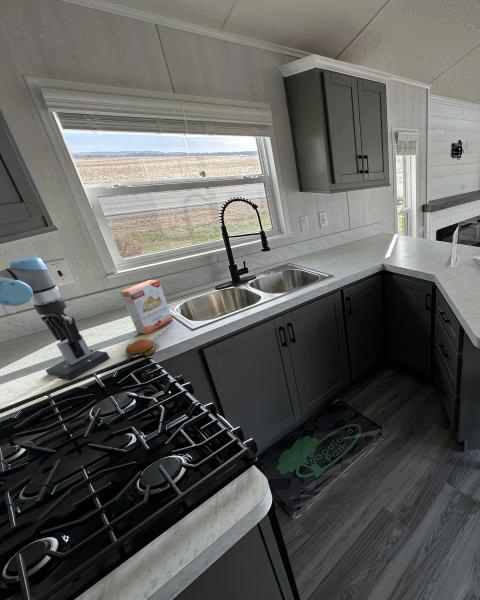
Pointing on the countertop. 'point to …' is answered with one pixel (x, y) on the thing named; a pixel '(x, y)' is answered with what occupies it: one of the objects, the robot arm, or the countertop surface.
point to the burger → (140, 347)
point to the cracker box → (147, 306)
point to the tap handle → (69, 354)
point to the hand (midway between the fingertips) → (78, 356)
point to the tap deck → (78, 366)
